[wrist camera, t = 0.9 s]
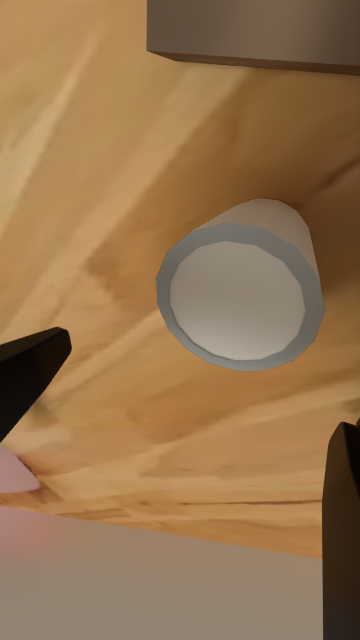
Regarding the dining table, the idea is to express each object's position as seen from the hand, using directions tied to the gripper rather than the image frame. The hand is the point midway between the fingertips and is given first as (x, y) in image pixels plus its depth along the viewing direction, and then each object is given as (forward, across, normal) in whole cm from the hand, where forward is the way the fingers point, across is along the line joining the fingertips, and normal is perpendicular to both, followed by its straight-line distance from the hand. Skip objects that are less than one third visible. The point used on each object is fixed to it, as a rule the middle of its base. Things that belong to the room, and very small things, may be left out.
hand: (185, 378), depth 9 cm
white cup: (+11, 0, 0) cm, 11 cm away
